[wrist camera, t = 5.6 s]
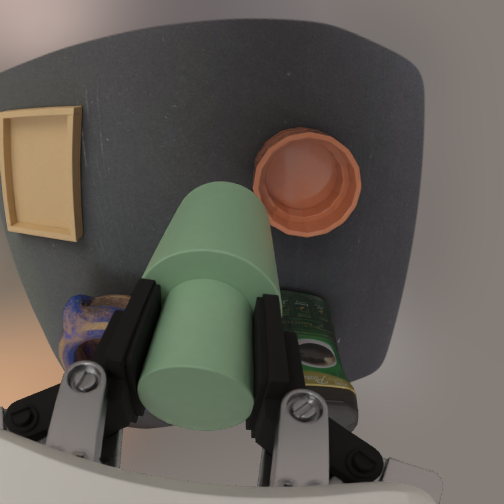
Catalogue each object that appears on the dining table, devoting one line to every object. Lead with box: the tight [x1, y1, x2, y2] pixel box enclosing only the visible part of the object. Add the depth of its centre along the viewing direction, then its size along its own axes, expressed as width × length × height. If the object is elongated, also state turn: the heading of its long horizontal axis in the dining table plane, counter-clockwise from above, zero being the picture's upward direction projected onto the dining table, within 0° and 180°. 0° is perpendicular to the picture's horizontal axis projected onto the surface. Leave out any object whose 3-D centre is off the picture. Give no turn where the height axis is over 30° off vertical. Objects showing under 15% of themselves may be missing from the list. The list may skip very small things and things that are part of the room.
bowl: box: [59, 294, 148, 411], centre depth 37 cm, size 18×18×10 cm
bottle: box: [137, 182, 282, 431], centre depth 13 cm, size 6×6×12 cm
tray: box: [0, 106, 83, 242], centre depth 30 cm, size 16×12×2 cm
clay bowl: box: [252, 127, 361, 237], centre depth 30 cm, size 10×10×5 cm
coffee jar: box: [280, 290, 358, 432], centre depth 33 cm, size 10×8×19 cm
